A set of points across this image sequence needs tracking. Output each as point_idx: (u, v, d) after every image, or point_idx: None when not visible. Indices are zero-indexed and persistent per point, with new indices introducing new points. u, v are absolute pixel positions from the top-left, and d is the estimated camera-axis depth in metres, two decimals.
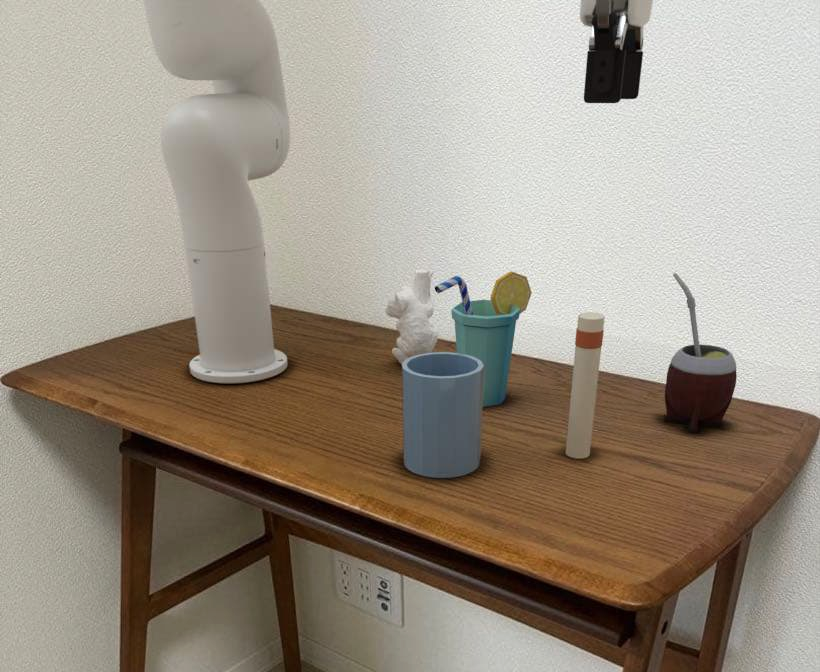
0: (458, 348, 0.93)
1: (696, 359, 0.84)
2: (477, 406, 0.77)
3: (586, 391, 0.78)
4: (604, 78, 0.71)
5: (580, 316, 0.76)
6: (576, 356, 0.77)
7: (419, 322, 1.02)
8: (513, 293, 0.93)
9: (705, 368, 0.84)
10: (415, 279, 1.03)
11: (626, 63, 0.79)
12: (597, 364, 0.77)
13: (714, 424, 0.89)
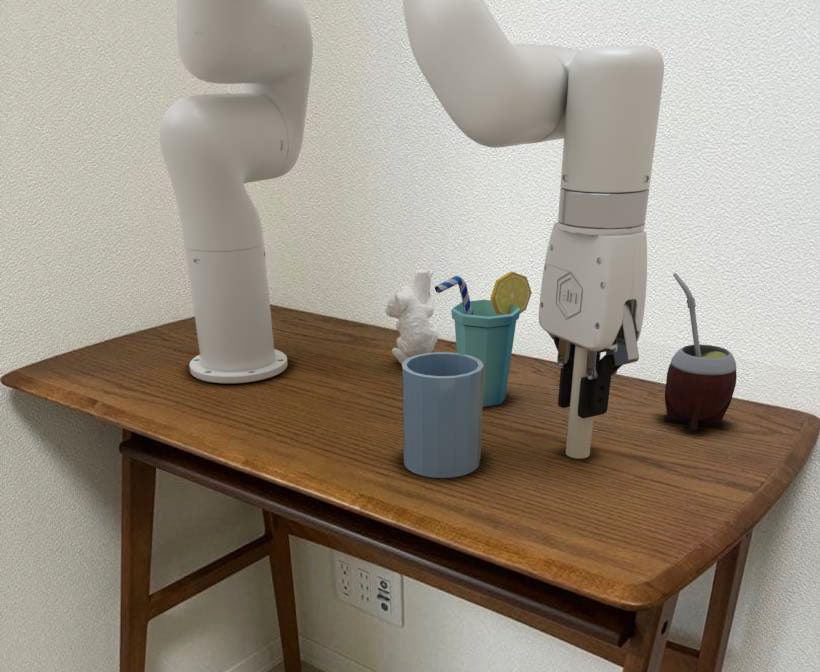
0: (458, 348, 0.93)
1: (696, 359, 0.84)
2: (477, 406, 0.77)
3: None
4: (601, 399, 0.78)
5: None
6: (576, 356, 0.77)
7: (419, 322, 1.02)
8: (513, 293, 0.93)
9: (705, 368, 0.84)
10: (415, 279, 1.03)
11: None
12: None
13: (714, 424, 0.89)
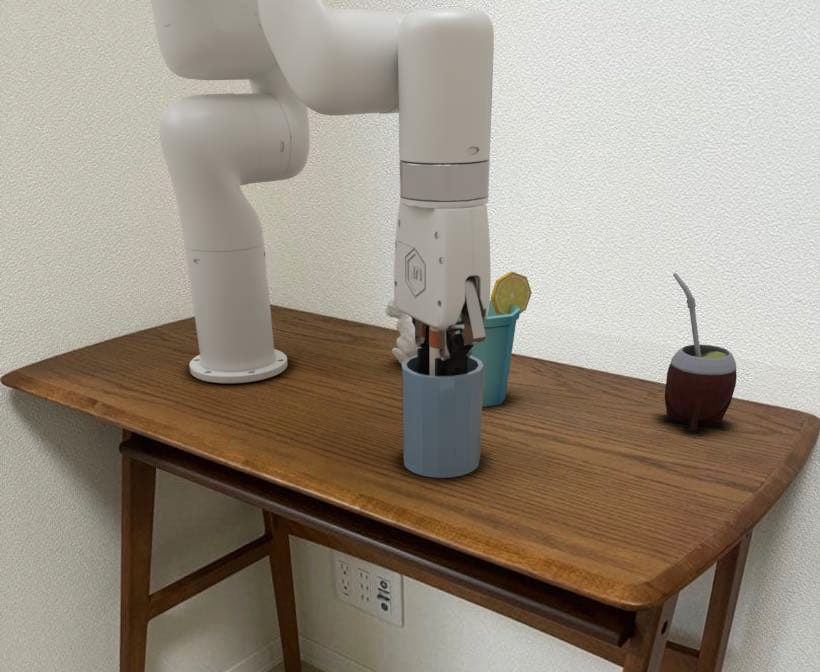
0: None
1: (696, 359, 0.84)
2: (477, 406, 0.77)
3: None
4: None
5: None
6: (430, 356, 0.76)
7: None
8: (513, 293, 0.93)
9: (705, 368, 0.84)
10: None
11: None
12: None
13: (714, 424, 0.89)
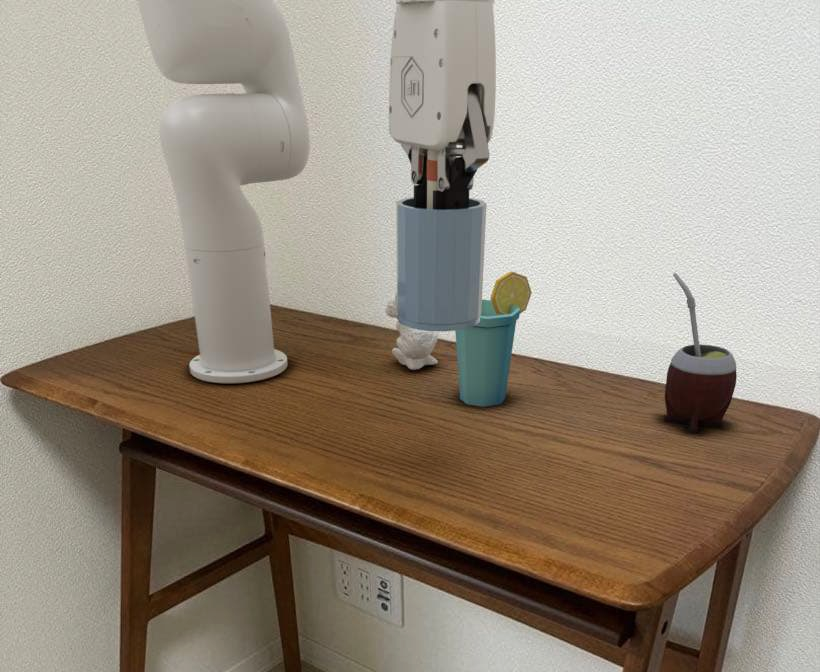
0: (458, 348, 0.93)
1: (696, 359, 0.84)
2: (478, 249, 0.70)
3: None
4: None
5: None
6: (428, 192, 0.69)
7: None
8: (513, 293, 0.93)
9: (705, 368, 0.84)
10: None
11: None
12: None
13: (714, 424, 0.89)
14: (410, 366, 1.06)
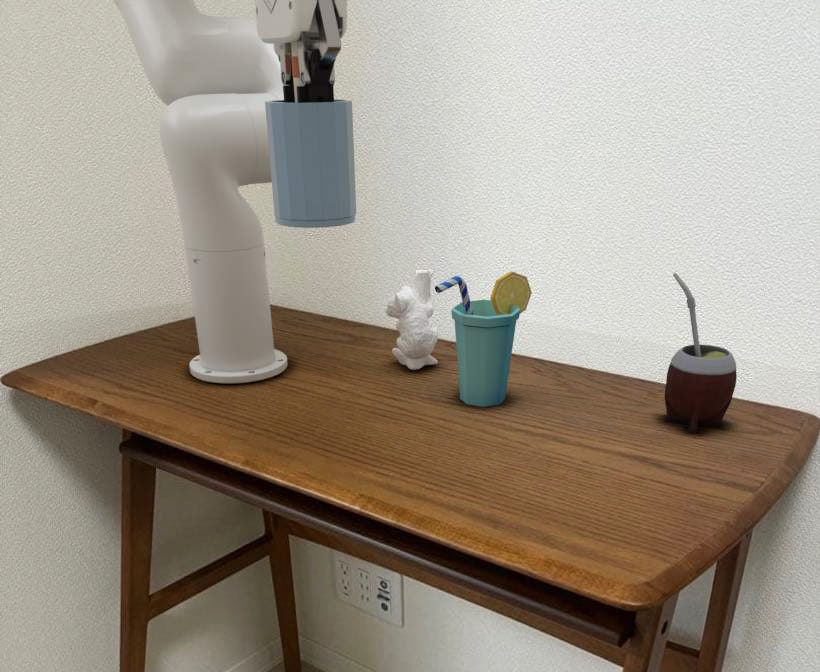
0: (458, 348, 0.93)
1: (696, 359, 0.84)
2: (345, 145, 0.72)
3: None
4: None
5: None
6: (294, 90, 0.72)
7: (419, 322, 1.02)
8: (513, 293, 0.93)
9: (705, 368, 0.84)
10: (415, 279, 1.03)
11: None
12: None
13: (714, 424, 0.89)
14: (410, 366, 1.06)
